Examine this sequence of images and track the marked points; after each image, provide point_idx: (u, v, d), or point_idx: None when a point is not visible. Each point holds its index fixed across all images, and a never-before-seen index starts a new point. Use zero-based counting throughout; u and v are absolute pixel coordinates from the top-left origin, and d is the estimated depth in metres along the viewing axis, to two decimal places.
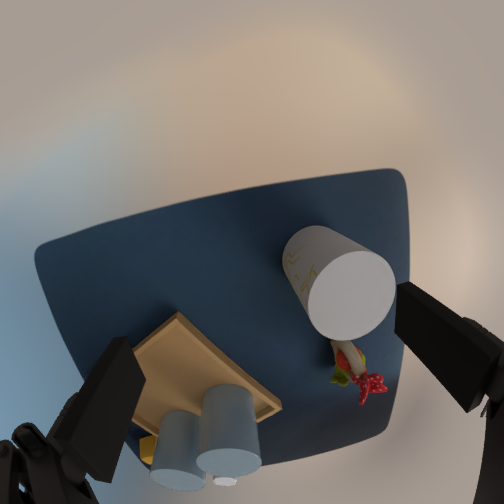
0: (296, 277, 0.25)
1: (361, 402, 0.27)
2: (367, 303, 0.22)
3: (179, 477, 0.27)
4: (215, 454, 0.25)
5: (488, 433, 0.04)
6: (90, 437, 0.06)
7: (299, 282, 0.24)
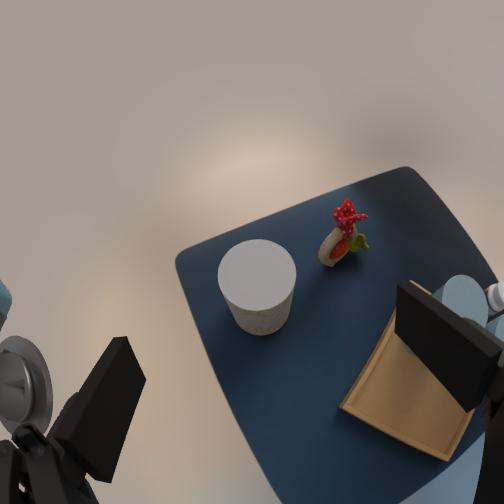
0: (263, 321, 0.31)
1: (361, 217, 0.33)
2: (258, 260, 0.29)
3: None
4: None
5: (488, 433, 0.04)
6: (90, 437, 0.06)
7: (263, 318, 0.30)
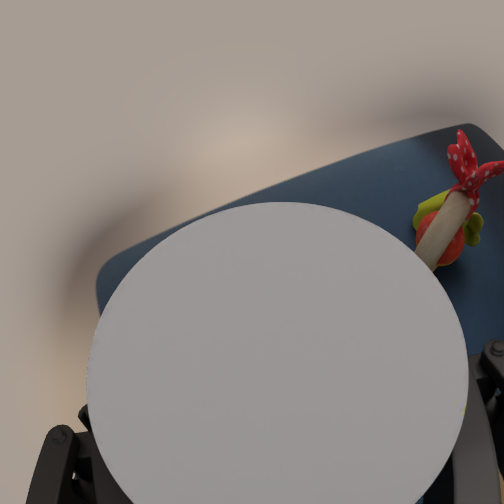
0: None
1: None
2: (288, 312, 0.05)
3: None
4: None
5: None
6: None
7: None
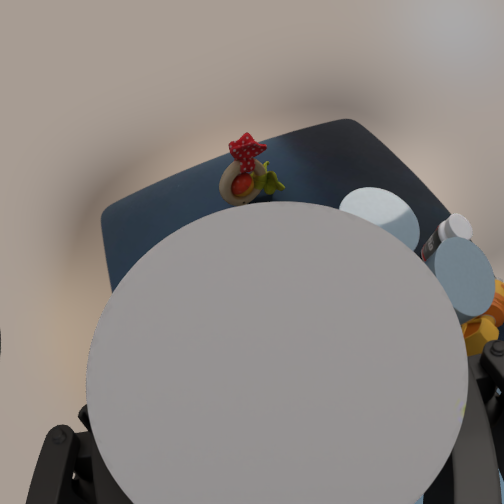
0: None
1: (252, 143, 0.31)
2: (287, 311, 0.05)
3: (453, 273, 0.19)
4: None
5: None
6: None
7: None
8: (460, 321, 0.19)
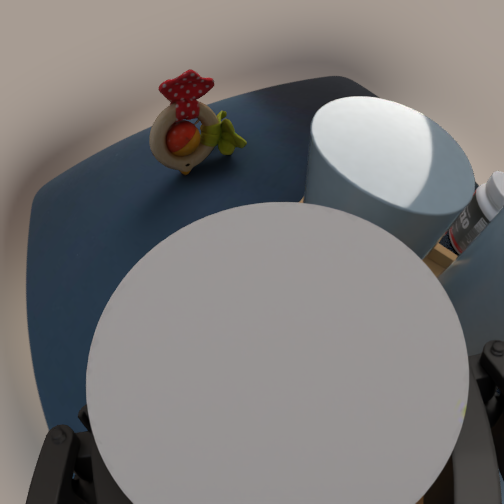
0: None
1: (188, 73, 0.19)
2: (288, 313, 0.05)
3: None
4: (370, 172, 0.09)
5: None
6: None
7: None
8: None
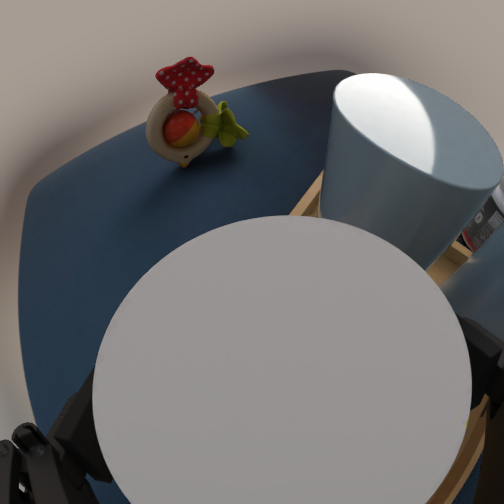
0: None
1: (186, 59, 0.17)
2: (295, 330, 0.05)
3: None
4: (409, 145, 0.07)
5: (488, 433, 0.04)
6: (90, 437, 0.06)
7: None
8: None
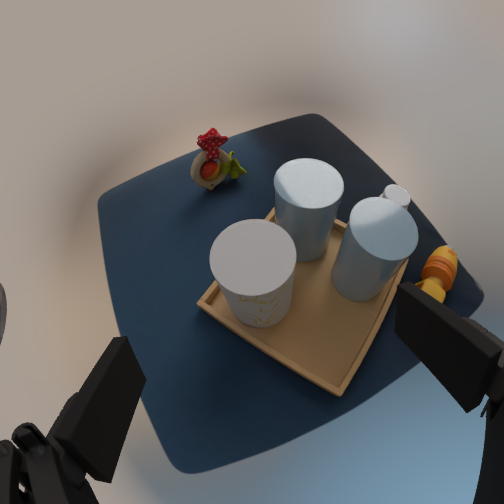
0: (262, 310, 0.28)
1: (214, 135, 0.39)
2: (254, 241, 0.27)
3: (369, 224, 0.26)
4: (294, 196, 0.29)
5: (487, 433, 0.04)
6: (90, 437, 0.06)
7: (262, 306, 0.27)
8: (380, 267, 0.26)
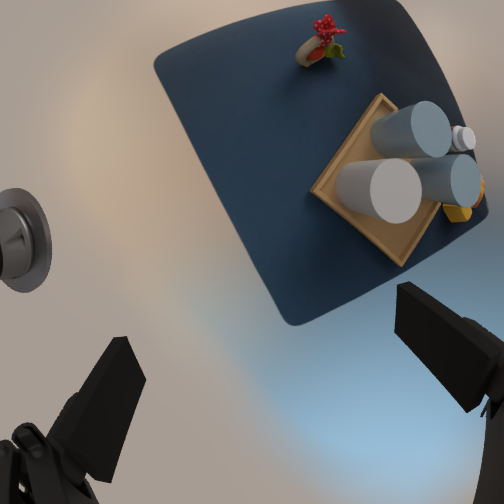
0: None
1: (340, 32, 0.26)
2: (399, 179, 0.29)
3: (459, 178, 0.30)
4: (423, 142, 0.28)
5: (488, 433, 0.04)
6: (90, 437, 0.06)
7: None
8: (455, 205, 0.32)
